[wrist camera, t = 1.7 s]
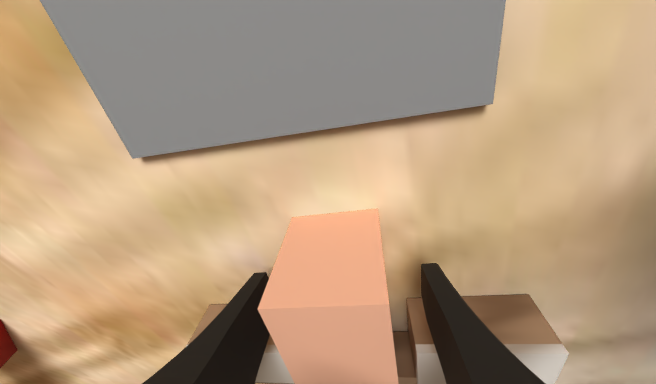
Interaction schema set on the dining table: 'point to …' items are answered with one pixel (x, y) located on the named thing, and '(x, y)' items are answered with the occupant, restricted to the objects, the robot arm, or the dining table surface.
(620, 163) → the dining table surface
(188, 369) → the robot arm
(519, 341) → the brown u-shaped block
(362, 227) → the salmon pillar
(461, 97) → the slate pad
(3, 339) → the french fries
